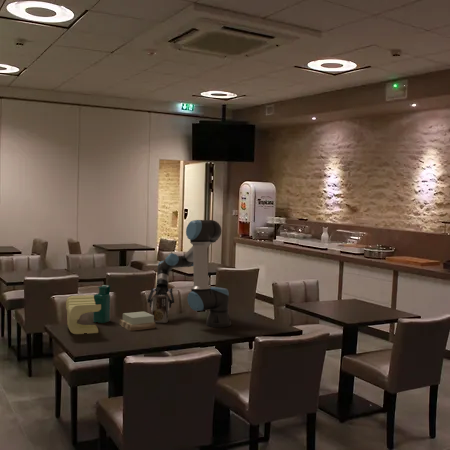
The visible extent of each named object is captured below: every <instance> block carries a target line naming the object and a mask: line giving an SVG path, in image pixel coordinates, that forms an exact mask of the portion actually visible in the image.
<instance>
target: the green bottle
mask: <svg viewBox="0 0 450 450" xmlns="http://www.w3.org/2000/svg"><path fill="white" fill-rule="evenodd" d="M97 289H98V293H96V294H93V295H94V300H95V304H96V305H99V304H101V310H99V311H98V312H92V314H93V315H92V321H93V323H96V322H98V323H99V324H105V323H108V322H110V320H111V295H110V291H111V285H107V284H102V285H100V286H97ZM98 323H97V324H98Z"/></svg>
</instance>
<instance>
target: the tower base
mask: <svg viewBox="0 0 450 450" xmlns="http://www.w3.org/2000/svg"><path fill="white" fill-rule="evenodd" d="M120 325H121V326H120ZM119 326H120V327H123V328H124V329H125V330H128V331H131V332H132V331H139V330H140V331H141V330H147V329H155V328H156V322H153V323H144V324H134V325H131V324H129V323H127V322H125V321H123V318H122V319H119Z"/></svg>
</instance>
